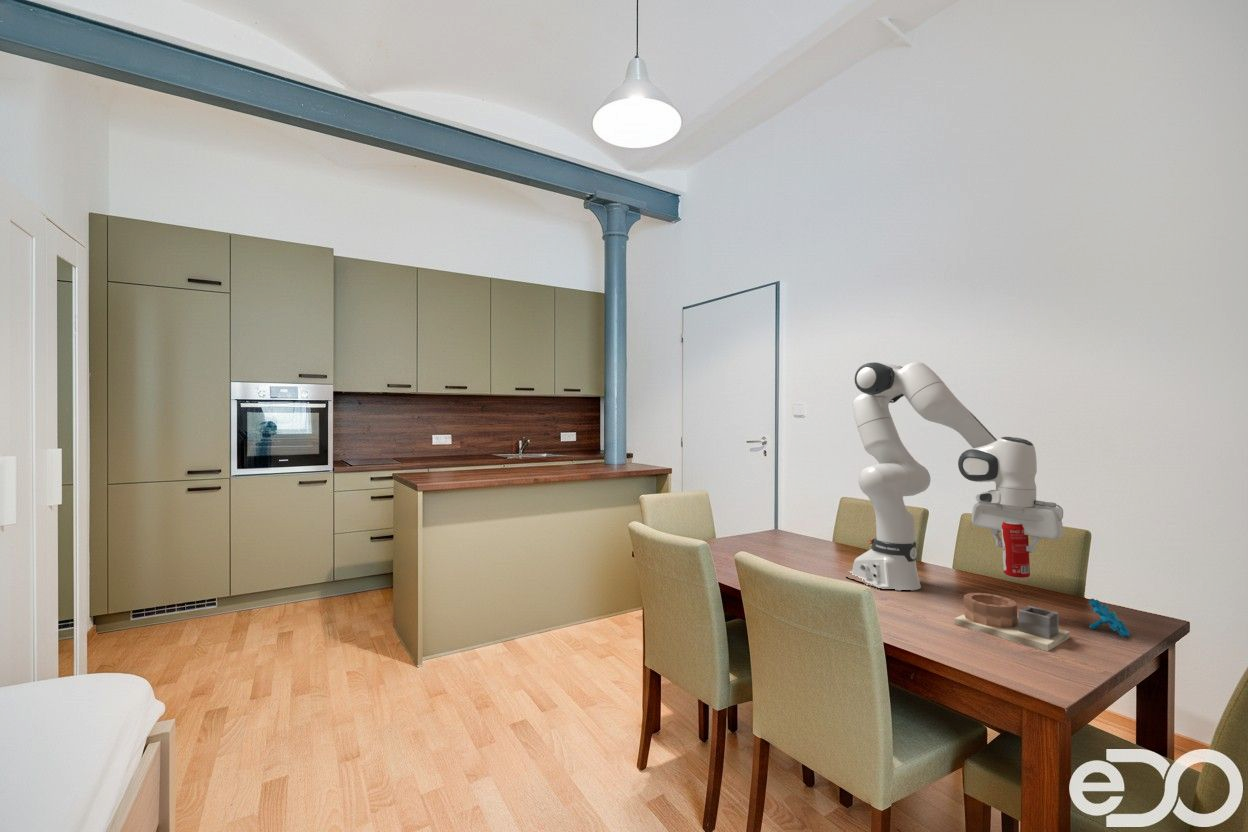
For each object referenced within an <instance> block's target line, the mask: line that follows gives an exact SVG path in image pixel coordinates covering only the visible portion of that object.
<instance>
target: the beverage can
mask: <svg viewBox="0 0 1248 832" xmlns="http://www.w3.org/2000/svg"><path fill="white" fill-rule="evenodd" d="M1001 540H1002V546H1003V547H1002V563H1003V567H1002V568H1003V574H1004V575H1005V576H1006V577H1008V578H1011V579H1020V580H1023V579H1024V580H1025V579H1029V578H1030V576H1031V566H1030V563H1031V562H1030V553H1029V552H1026V546H1027V545H1030V544H1029V543H1030V542H1029V535H1024V528H1023V525H1022V524H1017V523H1010V522H1003V524H1002V531H1001Z"/></svg>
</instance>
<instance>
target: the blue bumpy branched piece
mask: <svg viewBox="0 0 1248 832" xmlns="http://www.w3.org/2000/svg"><path fill="white" fill-rule="evenodd" d="M1089 605H1090V606H1091V607H1092V608H1093V609H1092V610H1093V611H1094V612H1095V614H1097V615H1099V616H1100V617H1099V618H1098V619H1099V620H1097V621H1095V622H1092V623H1091V624H1090V625H1088V626H1089V628H1090V629H1091V630H1095V629H1097V628H1098V627H1100V625H1101V626H1103V625H1107V624H1109V628H1110V629H1111V630H1113V631H1114V632H1115V631H1117V633H1118V634H1119V636H1121V637H1125V636H1128V637H1130V636H1131V634H1130V630H1129V629H1128V628H1126V625H1125V623H1124V622H1123V621H1122V620H1120V619H1119V617H1118V616H1117V613H1116V612H1115V611H1109V610H1110V608H1109V607H1108V606H1107V605H1105V604H1104V605H1102V602H1101V601H1100V600H1098V599H1095V598H1090V599H1089Z"/></svg>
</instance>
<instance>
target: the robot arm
mask: <svg viewBox="0 0 1248 832" xmlns="http://www.w3.org/2000/svg"><path fill="white" fill-rule="evenodd" d="M854 384H855V387H856V388H857V390H859V391H860V392H862V393H861V394H859V395H857V396H855V398H854V400H853V401H852V402H853V403H852V408H853V409H852V410H853V415H854V417H853V418H854V420H855V424H856V427H857V430H858V431H857V432H858V433H859V437H860V440H861V443H862V445H863V449H864V450H865V452H866V453H867V454H868V455H870V456H873V458H874V459H875V460H876V461H877V462H878V463H875V464H872V465H869V466H867V467H865V468H863V469H862V470H861V471H860V473H859V476H858V485H859V489H860V491H862V493H863V494H864V495H865V496H867V498H868V499H869V501H870V503H871V505H872V508H873V511H874V515H875V529H876V531H875V533H876V534H875V535H876V537H875V538H873V539H870V540H869V542H868V545H870V544H871V548H870V549H868V550H867V551H866V552H863V553H862V554H860V555H859V556H856V558H854V561H853V563H852V570H850V571H848V572H850V573H852V575H855V576H858V577H859V578H862V581H863V579H864V580H865V582H867V583H870V584H871V585H872V584H873V585H874V586H876V587H878V588H882V589H895V590H894V591H901V590H911V591H917V590H920V589H921V588H922V585H921V582H920V578H919V575H918V570H917V569H918V568H917V562H916V561H917V554H918V553H917V542H916V541H915V538H916V537H915V536H916V535H915V534H916V533H915V532H916V531H915V530H916V528H915V527H916V526H915V525H916V524H915V523H916V522H915V521H916V520H915V518H914V515H913V514H912V512H910V511H908V509H907V507H906V505H905V501H904V497H911V496H916V495H919V494H921V493H924V492H925V491H927V489H929V487H930V485H931V474H930V472H929V470H928V469H927V468H926V467H925V466H924V465H922V464H920V463H919V462H918V461H917V460H916V459H915V458H914V457H913V456H912V455H911V453H910V452H909V450H908V448H906V446H905V445H904V443H903V442H902V440H901V437H900V436H899V433H898V430H897V428H896V426H895V422H894V420H893V417H892V414H891V411H890V408H889V404H894V403H896V402H898V401H899V400H900V399H901V398H902V397H904V398H906V400H907V402H909V404H910V406H911V407H912V409H913V410H915V412H916V413H917V414H918V415H919V416H920V417H922V419H924V420H926V421H928V422H932V423H936V424H939V425H942V426H945V427H948V428H950V429H951V430H952V429H953V430H954V431H956V432H957V433H958V434H959V435H960V436H961V437H962V438H963V439H964V440H965V441H966V442H967V444H969V446H971V448H970V449H967V450H965V451H963V452H962V453H961V454H960V455H959V458H958V460H957V467H958V470H959V473H960V474H961V476H962V477H963V478H965V479H966V480H968V481H971V482H974V483H975V482H976V483H984V482H985V483H986V482H987V483H989V482H994V483H995V489H991V490H988V491H982V492H979V493H976V494H975V500H976V502H975V503H974V504H973V507H972V511H971V523H972V525H973V526H974V527H977V528H983V529H989V530H990V533H991V535H992V537H993V539H994V540H995V546H996V547H999V548H1003V546H1002V537H1001V536H1000V533H1001V532H1002V524H1003V522H1010V523H1017V524H1022V525H1023V528H1024V535H1028V537H1029V536H1030V541H1032V542H1031V543H1030V544H1029V545H1027V546H1026V552H1029V554H1034V553H1035V552H1036V546H1037V545H1038V543H1039V542H1040V541H1041V538H1043V539H1047V540H1055V541H1056V540H1059V539H1061V538H1062V537H1063V536H1064V526H1063V518H1064V509H1063V508H1062V507H1061V506H1060V505H1059V504H1057V503H1056V502H1051V501H1050V502H1048V501H1043V500H1037V485H1036V482H1035V481H1036V475H1037V470H1038V468H1037V467H1038V465H1037V464H1038V462H1037V452H1036V448H1035V445H1034V443H1033V442H1032V441H1029V440H1028V439H1025V438H1021V437H1013V436H1001V437H999V438H998V439H997V438H996V437H995V436H994V435H993V434H992V433H991V432H990V431H989V429H988V428H986V427H985V425H984V424H983V423H982V422H981V421H980V420H979V419H978V418H977V417H976V416H975V415H974V414H973V413H972V412H971V411H970V410H969V409H968V408H967V407H966V406H965V405H964V404H963V403H962V402H961V401H960V400H959V399H958V398H957V397H956V396H955V394H954V393H953V392H952V391H951V389H950V388H949V387H948V386H947V385H946V384H945V382H944V381H943V380H942V379H941V378H940V376H939V375H937V373H936V372H935V371H934V370H932V369H931V368H930V367H929V366H928V365H926V364H925V363H923V362H920V361H914V362H910V363H908V364H906V365H904V366H901V365H896V364H893V363H888V362H887V363H885V362H884V363H883V362H881V363H880V362H877V361H875V362H867V363H865V364H862V365H861V366H859V368H857V370H856V372H855V375H854ZM865 586H868V584H866V585H865Z"/></svg>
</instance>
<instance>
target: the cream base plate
mask: <svg viewBox="0 0 1248 832" xmlns="http://www.w3.org/2000/svg"><path fill="white" fill-rule="evenodd" d="M1059 620H1060V619H1059V612H1056V611H1052V610H1049V609H1044V608H1040V607H1035V606H1032V605H1027V606H1026V607H1023V608H1021V609H1019V610H1018V604H1017V602H1016V601H1015V600H1013V599H1012V598H1008V597H1006V596H1002V595H998V594H993V593H992V594H991V593H984V592H968V593H966V594H964V595H963V614H961V615H959V616H957V617H954V620H953V622H954V625H957V626H960V627H962V628H963V627H964V628H967V629H970V630H974V631H978V632H979V633H984V634H986V635H987V634H988V635H990V636H994V637H998V638H1002V639H1004V640H1008V641H1011V642H1014V643H1018V644H1020V645H1021V644H1022V645H1023V646H1024V645H1025V646H1029V647H1032V648H1035V649H1038V650H1042V651H1045V652H1048V651H1050V650H1053V649H1054V648H1056V647H1057V646H1059V645H1060V644H1062V643H1063V642H1064V643H1065V642H1066V641H1067V640H1068V639H1070V638H1071V632H1070V631H1069V630H1065V629H1062V628H1059V623H1060V622H1059Z"/></svg>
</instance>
